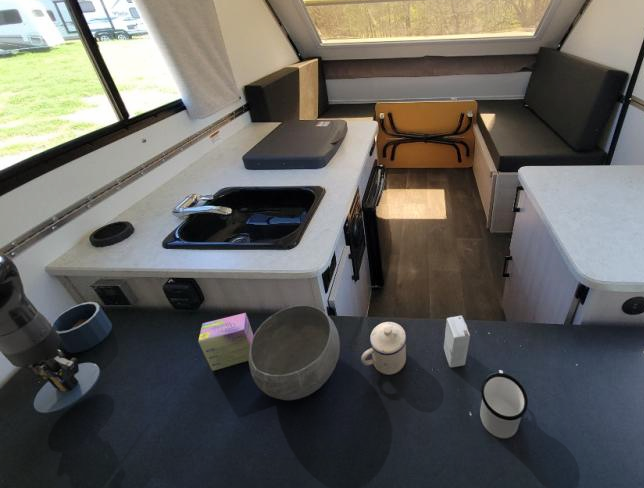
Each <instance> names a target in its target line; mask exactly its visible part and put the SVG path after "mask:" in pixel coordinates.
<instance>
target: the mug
mask: <svg viewBox="0 0 644 488" xmlns="http://www.w3.org/2000/svg"><path fill="white" fill-rule="evenodd" d="M480 396H481V402H480V407H479V416H480V420H481V423H482V426H483V427H484V428H485V429H486V431H487V432H489V434H491V435H492V436H494V437H496V438H499V439H509V438H512V437H513V436H514V435H516V433H517V432H518V430H519V428H520V427H519V425H520V423H521V419H522V417H524V415H525V414H526V412H527V409H528V405H529V399H528V394H527V391H526V389H525V388H524V386H523V385H522V383H520V381H519V380H517V379H516V378H515V377H513V376H512V375H510V374H508V373H504V371H503V370H502V369H499V370H498V372H493V373H491V374H489V375H488V376H486V377H485V378H484V379H483V381H482V384H481V387H480Z"/></svg>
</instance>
